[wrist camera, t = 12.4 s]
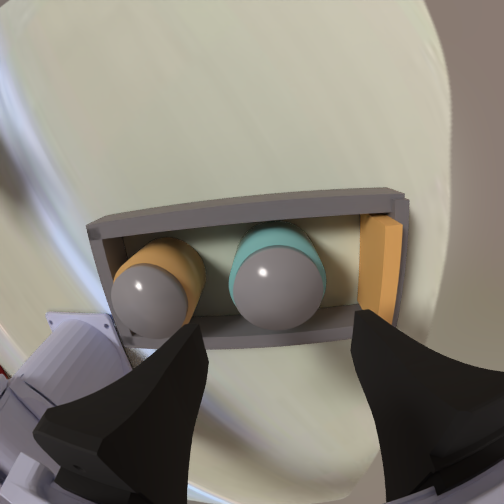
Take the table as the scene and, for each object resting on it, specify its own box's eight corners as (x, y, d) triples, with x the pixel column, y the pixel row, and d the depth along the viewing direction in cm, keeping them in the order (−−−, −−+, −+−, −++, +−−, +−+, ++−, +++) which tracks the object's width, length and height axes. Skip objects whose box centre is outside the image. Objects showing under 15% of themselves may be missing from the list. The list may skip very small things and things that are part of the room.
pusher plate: (370, 298, 18) (390, 331, 14) (357, 300, 18) (375, 333, 15) (374, 208, 16) (402, 224, 12) (360, 209, 16) (385, 225, 12)
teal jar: (318, 287, 18) (332, 325, 14) (244, 299, 19) (239, 340, 15) (309, 213, 17) (324, 235, 12) (227, 228, 17) (215, 254, 13)
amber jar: (212, 303, 19) (199, 343, 15) (147, 305, 19) (122, 341, 15) (199, 233, 17) (179, 259, 13) (129, 241, 18) (96, 266, 13)
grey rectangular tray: (379, 312, 19) (394, 336, 16) (137, 328, 20) (122, 351, 17) (387, 187, 16) (409, 195, 13) (105, 215, 17) (81, 227, 14)
